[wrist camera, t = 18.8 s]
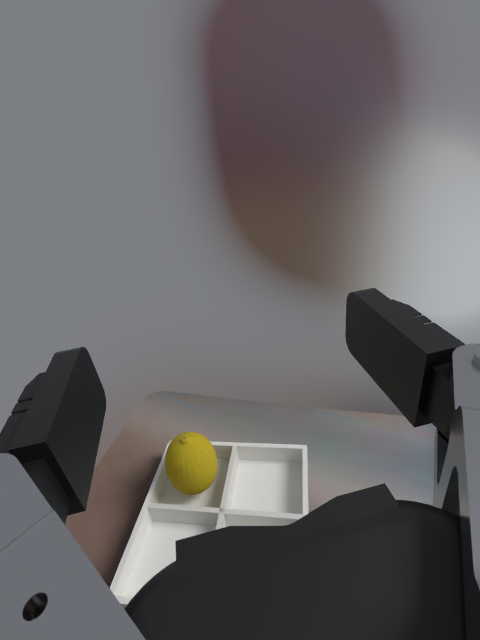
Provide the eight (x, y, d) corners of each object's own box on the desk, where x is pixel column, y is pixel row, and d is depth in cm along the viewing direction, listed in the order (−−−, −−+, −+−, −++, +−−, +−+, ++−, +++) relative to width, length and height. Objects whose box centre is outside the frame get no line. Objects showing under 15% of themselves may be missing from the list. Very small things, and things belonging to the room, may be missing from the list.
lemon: (164, 500, 39) (146, 451, 35) (190, 460, 43) (177, 412, 39) (207, 517, 36) (192, 467, 32) (230, 473, 41) (220, 424, 37)
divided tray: (311, 645, 27) (310, 629, 26) (115, 617, 30) (104, 601, 29) (307, 462, 41) (306, 445, 40) (174, 456, 44) (169, 440, 43)
